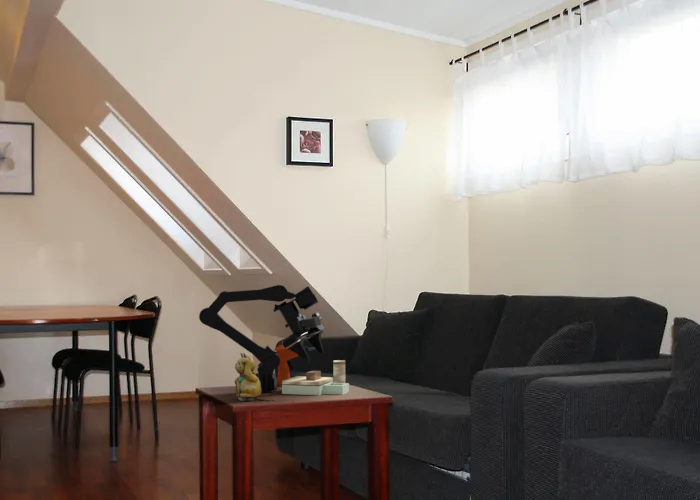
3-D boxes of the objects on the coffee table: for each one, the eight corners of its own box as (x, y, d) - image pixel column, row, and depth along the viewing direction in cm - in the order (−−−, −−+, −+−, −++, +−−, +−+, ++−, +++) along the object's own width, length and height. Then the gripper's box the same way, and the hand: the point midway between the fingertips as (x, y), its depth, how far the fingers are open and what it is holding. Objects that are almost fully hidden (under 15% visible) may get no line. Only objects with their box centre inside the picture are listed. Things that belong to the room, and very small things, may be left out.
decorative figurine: (231, 398, 276) (231, 351, 276) (256, 396, 279) (256, 350, 280) (240, 402, 267) (240, 354, 268) (265, 400, 271) (265, 353, 271)
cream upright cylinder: (333, 390, 293) (333, 361, 294) (333, 389, 297) (333, 360, 298) (345, 390, 293) (345, 361, 294) (345, 389, 298) (345, 360, 298)
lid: (282, 384, 279) (282, 373, 279) (297, 379, 293) (297, 368, 293) (319, 385, 275) (319, 374, 276) (333, 380, 289) (333, 369, 289)
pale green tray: (282, 396, 279) (282, 384, 279) (297, 391, 293) (297, 379, 293) (339, 398, 273) (339, 387, 274) (352, 393, 287) (351, 381, 287)
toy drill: (326, 381, 308) (320, 340, 308) (274, 388, 307) (268, 347, 307) (325, 379, 312) (320, 339, 313) (274, 386, 312) (269, 345, 312)
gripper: (294, 312, 281) (318, 353, 279) (323, 300, 297) (345, 339, 295) (271, 327, 286) (294, 368, 284) (301, 315, 303) (323, 353, 301)
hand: (315, 356), depth 291 cm, fingers open, 9 cm apart
